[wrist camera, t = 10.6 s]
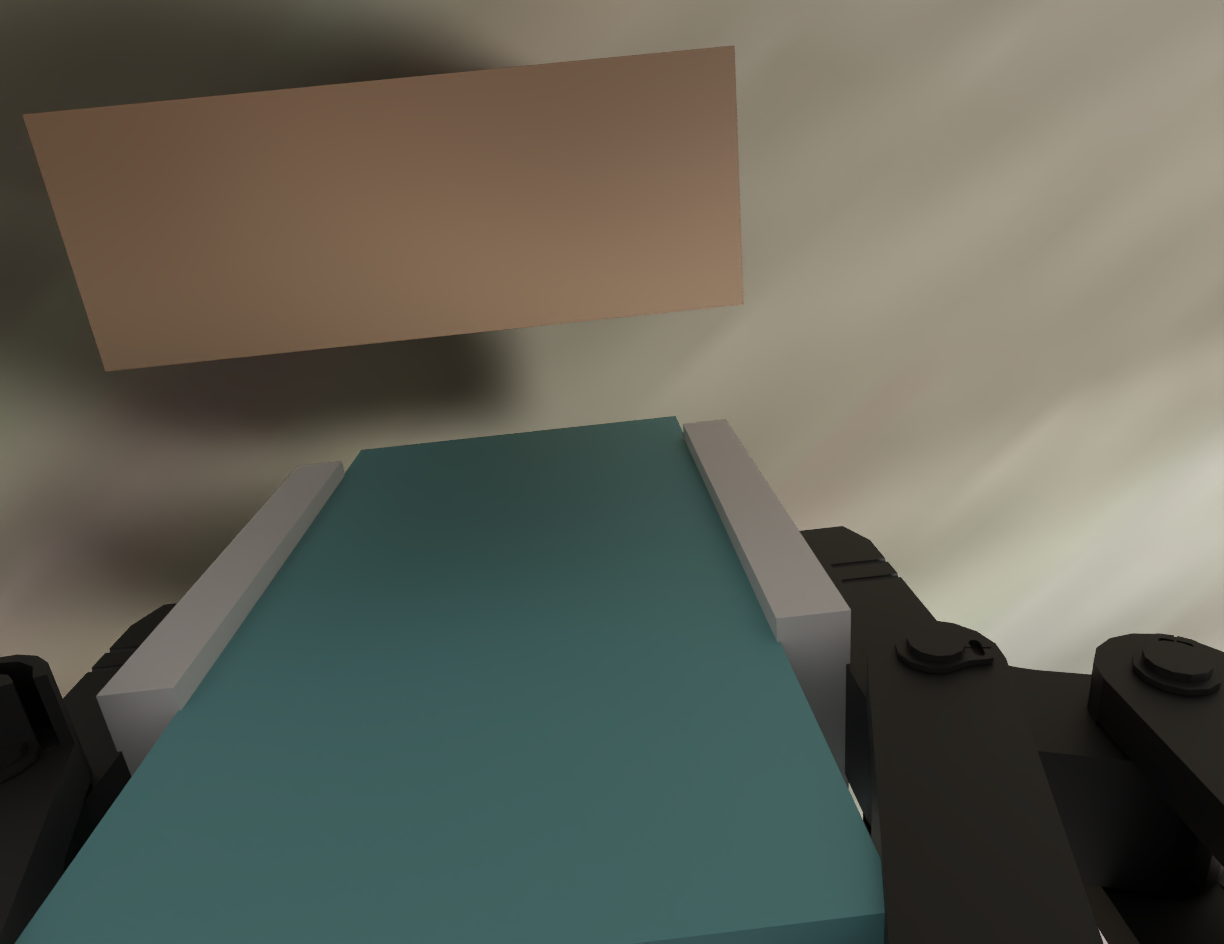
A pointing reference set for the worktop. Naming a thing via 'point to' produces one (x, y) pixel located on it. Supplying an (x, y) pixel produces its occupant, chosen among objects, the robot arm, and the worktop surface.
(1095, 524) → the worktop surface
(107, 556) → the worktop surface
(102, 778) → the robot arm
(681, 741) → the teal domino
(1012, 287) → the worktop surface
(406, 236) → the domino
